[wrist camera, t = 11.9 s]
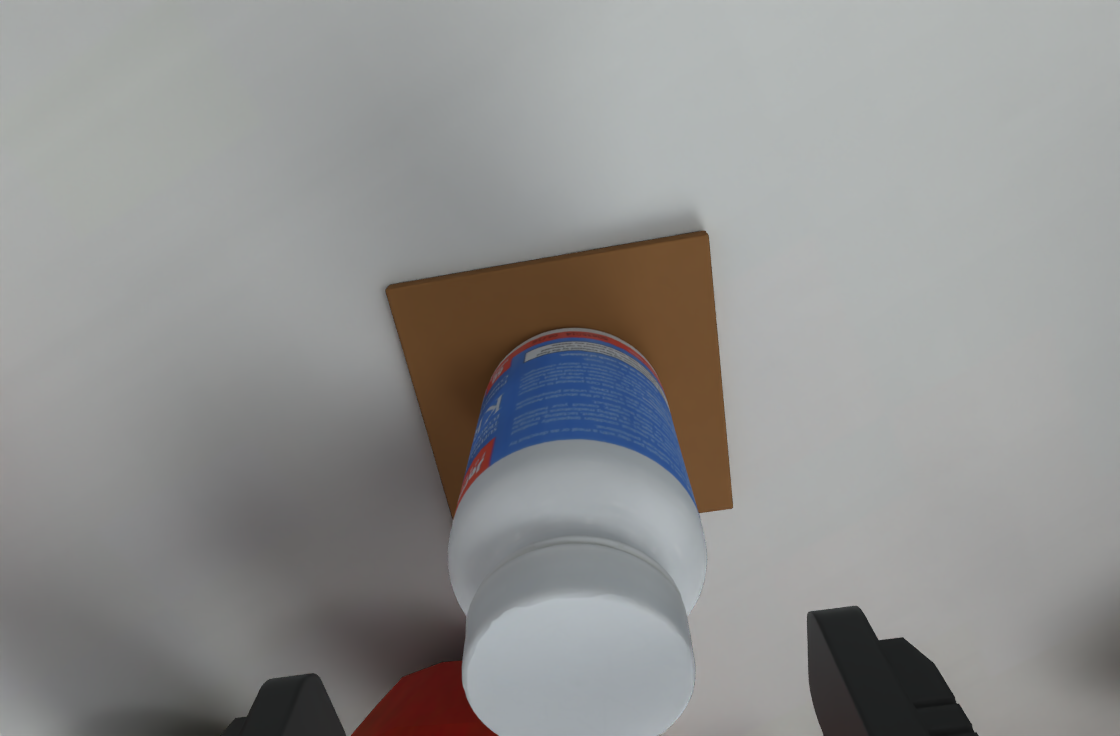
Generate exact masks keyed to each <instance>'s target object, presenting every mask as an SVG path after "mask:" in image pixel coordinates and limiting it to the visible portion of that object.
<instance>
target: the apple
mask: <svg viewBox="0 0 1120 736" xmlns="http://www.w3.org/2000/svg"><path fill="white" fill-rule="evenodd" d="M351 736H498V735H497V734H496V733H494V732H493V731H492V730H491V729H489V728H488V727H487V726H486V725H485V724H484V723H483V722H482V721H481V720H480V719H479V718H478V717H477V715H476V714H475V713H474V711H473V709H472V708H471V706H470V704H469V702H468V700H467V698H466V693H465V690H464V688H463V684H462V661H450V662H441V663H439V664H436V665H433V666H431V667H428V668H425V669H423V670H420V671H417V672H415V673H412V674H409V675H407V676H404V677H402V678H401V679H400V680H399V681H398V682H397V684H396V685H395V686H394V687H393V688H392V689H391V690H390V691H389V692H388V693H387V694H386V696H385V697H384V698H383V699H382V700H381V701H380V702H379V703H378V704H377V706H376V707H375V708H374V709H373V710H372V711H371V713H370V714H369V715H368V716H367V717H366V718H365V720H364V721H363V722H362V723H361V724H360V725H359V727H358V728H357V729H356V730H355V731H354V732H353V734H352V735H351Z"/></svg>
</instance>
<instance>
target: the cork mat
mask: <svg viewBox="0 0 1120 736" xmlns="http://www.w3.org/2000/svg"><path fill="white" fill-rule="evenodd" d="M386 295H387V298H388V301H389V305H390V308H391V312H392V315H393V318H394V322H395V325H396V329H397V332H398V335H399V339H400V342H401V345H402V349H403V352H404V356H405V359H406V362H407V366H408V369H409V373H410V376H411V379H412V383H413V386H414V390H415V393H416V396H417V400H418V403H419V407H420V410H421V413H422V417H423V420H424V424H425V427H426V430H427V434H428V437H429V441H430V444H431V447H432V451H433V454H434V458H435V461H436V464H437V468H438V471H439V474H440V478H441V481H442V485H443V488H444V491H445V495H446V498H447V502H448V505H449V508H450V512H451V515H452V519H454V515H455V511H456V507H457V503H458V500H459V496H460V492H461V488H462V484H463V480H464V476H465V472H466V468H467V464H468V460H469V456H470V451H471V447H472V443H473V439H474V435H475V431H476V427H477V423H478V419H479V415H480V411H481V407H482V402H483V398H484V395H485V391H486V389H487V386H488V384H489V382H490V379H491V377H492V375H493V374H494V372H495V370H496V368H497V367H498V365H499V364H500V363H501V362H502V360H503V359H504V358H505V357H506V356H507V355H508V354H509V353H510V352H511V351H512V350H514V349H515V348H516V347H517V346H519V345H520V344H522V343H523V342H525V341H527V340H528V339H530V338H532V337H534V336H537V335H539V334H541V333H544V332H548V331H551V330H556V329H562V328H586V329H592V330H597V331H601V332H605V333H608V334H611V335H613V336H615V337H617V338H620V339H621V340H623V341H625V342H626V343H628V344H630V345H631V346H633V347H634V348H635V349H636V350H638V351H639V352H640V353H641V354H642V355H643V356H644V357H645V358H646V360H647V361H648V362H649V363H650V365H651V366H652V367H653V369H654V370H655V372H656V374H657V376H658V378H659V380H660V382H661V385H662V387H663V389H664V392H665V395H666V399H667V402H668V406H669V409H670V413H671V417H672V421H673V425H674V428H675V432H676V435H677V439H678V443H679V446H680V450H681V453H682V457H683V460H684V464H685V467H686V471H687V474H688V478H689V481H690V485H691V488H692V491H693V495H694V498H695V502H696V505H697V509H698V512H699V513H703V512H710V511H717V510H725V509H732V508H733V501H732V490H731V479H730V468H729V456H728V445H727V434H726V423H725V412H724V401H723V390H722V379H721V367H720V356H719V345H718V334H717V323H716V312H715V301H714V290H713V279H712V267H711V256H710V245H709V235H708V234H707V233H706V231H698V232H692V233H687V234H681V235H675V236H669V237H663V238H658V239H652V240H646V241H640V242H635V243H629V244H623V245H617V246H611V247H606V248H600V249H594V250H588V251H582V252H577V253H571V254H565V255H559V256H553V257H548V258H542V259H536V260H530V261H525V262H519V263H513V264H507V265H501V266H496V267H490V268H484V269H478V270H472V271H467V272H461V273H455V274H449V275H444V276H438V277H432V278H426V279H420V280H415V281H409V282H403V283H397V284H391V285H389V286H388V287H387V289H386Z"/></svg>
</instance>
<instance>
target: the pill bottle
mask: <svg viewBox="0 0 1120 736" xmlns="http://www.w3.org/2000/svg"><path fill="white" fill-rule="evenodd" d="M706 567H707V549H706V542H705V537H704V532H703V528H702V524H701V519H700V515H699V512H698V509H697V505H696V502H695V498H694V495H693V491H692V488H691V485H690V481H689V478H688V474H687V471H686V467H685V464H684V460H683V457H682V453H681V450H680V446H679V443H678V439H677V435H676V432H675V428H674V425H673V421H672V417H671V413H670V409H669V406H668V402H667V399H666V395H665V392H664V389H663V387H662V385H661V382H660V380H659V378H658V376H657V374H656V372H655V370H654V369H653V367H652V366H651V365H650V363H649V362H648V361H647V360H646V358H645V357H644V356H643V355H642V354H641V353H640V352H639V351H638V350H636V349H635V348H634V347H633V346H631V345H630V344H628V343H626V342H625V341H623V340H621V339H620V338H617V337H615V336H613V335H611V334H608V333H605V332H601V331H597V330H592V329H586V328H562V329H556V330H551V331H548V332H544V333H541V334H539V335H537V336H534V337H532V338H530V339H528V340H527V341H525V342H523V343H522V344H520V345H519V346H517V347H516V348H515V349H514V350H512V351H511V352H510V353H509V354H508V355H507V356H506V357H505V358H504V359H503V360H502V362H501V363H500V364H499V365H498V367H497V368H496V370H495V372H494V374H493V375H492V377H491V379H490V382H489V384H488V386H487V389H486V391H485V395H484V398H483V402H482V407H481V411H480V415H479V419H478V423H477V427H476V431H475V435H474V439H473V443H472V447H471V451H470V456H469V460H468V464H467V468H466V472H465V476H464V480H463V484H462V488H461V492H460V496H459V500H458V503H457V507H456V511H455V515H454V519H453V524H452V528H451V533H450V539H449V546H448V571H449V577H450V581H451V585H452V588H453V591H454V594H455V596H456V598H457V601H458V603H459V605H460V607H461V608H462V610H463V611H464V613H465V615H466V616H467V619H466V637H465V645H464V652H463V660H462V684H463V688H464V690H465V693H466V698H467V700H468V702H469V704H470V706H471V708H472V709H473V711H474V713H475V714H476V715H477V717H478V718H479V719H480V720H481V721H482V722H483V723H484V724H485V725H486V726H487V727H488V728H489V729H491V730H492V731H493V732H494V733H496V734H497V735H498V736H659V735H660V734H662V733H663V732H664V731H665V730H667V729H668V728H669V727H671V726H672V724H673V723H674V722H675V721H676V720H677V719H678V718H679V716H680V715H681V714H682V713H683V711H684V709H685V708H686V706H687V704H688V702H689V700H690V698H691V696H692V692H693V688H694V684H695V672H696V669H695V659H694V653H693V648H692V642H691V636H690V631H689V625H688V618H687V616H688V615H689V613H690V612H691V611H692V609H693V607H694V606H695V604H696V602H697V600H698V598H699V596H700V593H701V590H702V587H703V584H704V580H705V574H706Z"/></svg>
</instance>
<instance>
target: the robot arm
mask: <svg viewBox="0 0 1120 736" xmlns="http://www.w3.org/2000/svg"><path fill="white" fill-rule="evenodd" d="M807 639H808V674H809V686H810V692H811V697H812V701H813V705H814V709H815V712H816V715H817V719H818V721H819V724H820V727H821V729H822V732H823V735H824V736H978V734H977V732H974V731H973V728H972V724H971V723H970V721H969V719H968V718H967V716H966V714H965V713H964V711H963V710H962V708H961V706H960V705H959V704H957V703H956V701H955V697H954V695H953V693H952V692H951V690H950V688H949V687H948V685H947V684H946V682H945V680H944V679H943V677H942V675H941V674H940V672H939V671H938V669H937V667H936V666H935V664H934V663H933V662H932V661H930V660H929V659H928V658H927V657H926V656H924V655H923V654H922V653H921V652H920V651H918V650H917V649H916V648H915V647H914V646H913V645H911V644H910V643H909V642H908V641H907V640H905V639H904V638H903V637H902V638H894V639H886V640H878V638H877V637H876V635H875V633H874V631H873V629H872V627H871V626H870V624H869V622H868V620H867V618H866V616H865V615H864V613H863V612H862V610H861V609H860V608H859V607H858V606H850V607H842V608H834V609H826V610H818V611H811V612H808V614H807ZM220 736H346V734H345V731H344V729H343V727H342V725H341V722H340V720H339V718H338V716H337V714H336V711H335V709H334V707H333V705H332V703H331V700H330V698H329V696H328V694H327V692H326V689H325V687H324V685H323V683H322V681H321V679H320V677H319V676H318V675H317V674H314V673H312V674H304V675H296V676H288V677H281V678H273V679H269V680H267V681H266V682H265V683H264V684H263V685H262V687H261V689H260V690H259V692H258V695H257V697H256V699H255V701H254V703H253V705H252V707H251V709H250V711H249V713H248V715H247V717H241V718H235V719H234V720H233V721H232V722H231V724H230V725H229V726H228V727H227V728H226V729H225V730H224V732H223V733H222V734H221V735H220Z"/></svg>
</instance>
